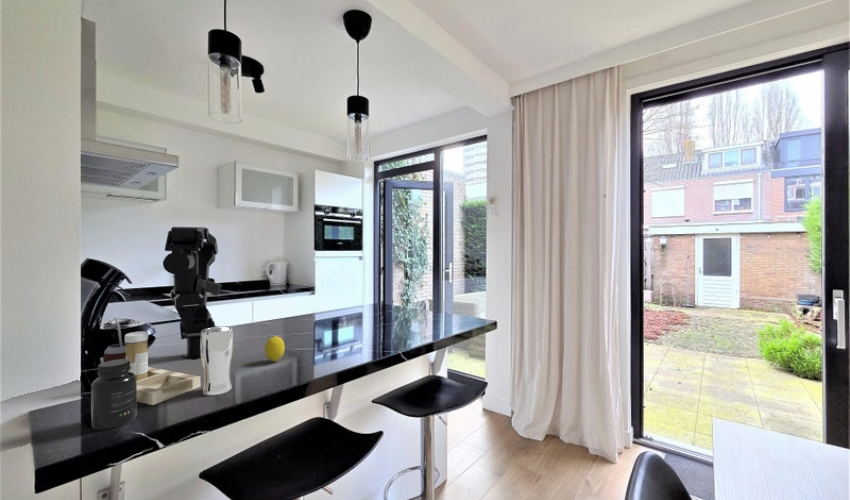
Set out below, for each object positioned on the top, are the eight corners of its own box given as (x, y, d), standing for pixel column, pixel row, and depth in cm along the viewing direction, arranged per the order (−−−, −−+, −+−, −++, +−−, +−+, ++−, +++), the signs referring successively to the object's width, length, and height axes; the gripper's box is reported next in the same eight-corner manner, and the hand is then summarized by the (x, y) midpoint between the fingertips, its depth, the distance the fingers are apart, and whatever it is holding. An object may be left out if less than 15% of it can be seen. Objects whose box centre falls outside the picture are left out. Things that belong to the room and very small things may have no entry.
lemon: (288, 359, 109) (287, 333, 109) (278, 365, 103) (278, 338, 103) (271, 358, 109) (271, 333, 109) (261, 364, 104) (261, 337, 104)
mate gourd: (124, 378, 93) (123, 322, 93) (92, 379, 92) (92, 323, 92) (144, 368, 100) (144, 316, 100) (115, 369, 100) (115, 317, 100)
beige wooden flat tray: (96, 391, 84) (96, 380, 84) (146, 375, 95) (146, 365, 95) (152, 405, 77) (152, 392, 77) (200, 386, 87) (200, 375, 87)
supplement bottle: (83, 427, 68) (82, 365, 67) (124, 411, 74) (123, 355, 74) (104, 433, 65) (103, 370, 65) (144, 417, 71) (144, 359, 71)
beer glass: (209, 399, 80) (209, 334, 80) (194, 392, 84) (194, 330, 84) (239, 388, 86) (239, 328, 86) (224, 382, 90) (223, 324, 89)
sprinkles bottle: (121, 387, 87) (120, 334, 87) (142, 381, 91) (142, 330, 91) (131, 390, 85) (130, 336, 85) (152, 384, 89) (152, 331, 89)
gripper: (225, 272, 96) (225, 328, 96) (213, 267, 110) (214, 316, 111) (175, 274, 89) (176, 334, 89) (170, 269, 103) (170, 321, 104)
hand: (186, 326), depth 98 cm, fingers open, 9 cm apart
